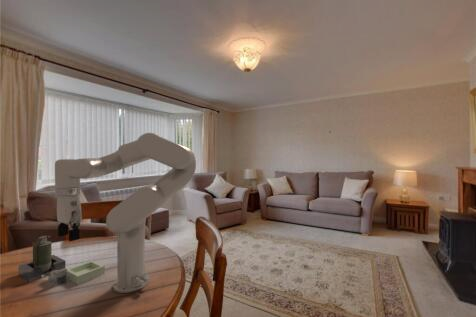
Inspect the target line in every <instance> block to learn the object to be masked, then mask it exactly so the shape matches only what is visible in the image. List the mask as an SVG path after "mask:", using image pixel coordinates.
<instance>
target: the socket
mask: <svg viewBox="0 0 476 317" xmlns="http://www.w3.org/2000/svg"><path fill="white" fill-rule="evenodd" d="M51 262H52V271H54V270H60V269H63V268H65V269H66V260H65V259H63V258H62V257H58V255H55V254H51ZM18 275H20V276H19V277H20V278H22V279H23V280H25V281H26V282H28V283H29V284H30V283H33V282H36V281H38V280H42V278H43V275H42V268H40V267H39V268H36V269H34V265H33V260H32V261H28V262H24V263H21V264H18Z"/></svg>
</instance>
